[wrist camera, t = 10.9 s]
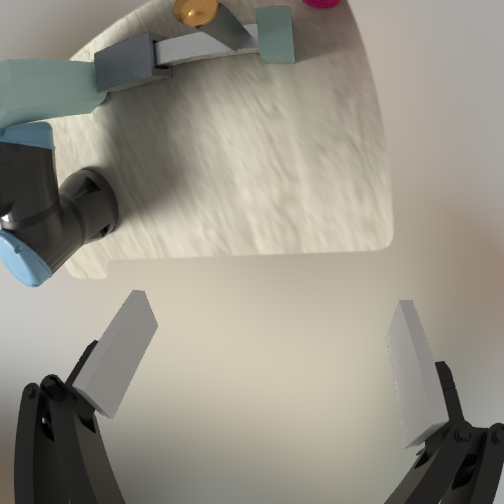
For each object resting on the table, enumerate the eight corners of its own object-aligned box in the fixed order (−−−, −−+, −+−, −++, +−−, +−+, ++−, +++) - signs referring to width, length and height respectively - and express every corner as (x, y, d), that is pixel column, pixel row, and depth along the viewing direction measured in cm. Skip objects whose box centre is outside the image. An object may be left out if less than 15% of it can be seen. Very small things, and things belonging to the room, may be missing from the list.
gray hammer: (160, 70, 32) (79, 67, 17) (158, 46, 30) (78, 32, 15) (282, 53, 29) (266, 16, 14) (279, 26, 27) (262, -25, 12)
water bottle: (115, 106, 37) (-13, 123, 15) (77, 119, 39) (-36, 146, 17) (113, 54, 32) (-9, 45, 10) (75, 72, 34) (-36, 80, 12)
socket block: (266, 64, 32) (259, 56, 26) (263, 22, 28) (255, 8, 22) (295, 63, 31) (294, 55, 25) (291, 21, 27) (289, 6, 21)
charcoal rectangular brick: (121, 90, 36) (97, 93, 31) (117, 55, 32) (94, 53, 27) (172, 76, 34) (152, 75, 29) (169, 38, 31) (148, 31, 25)
